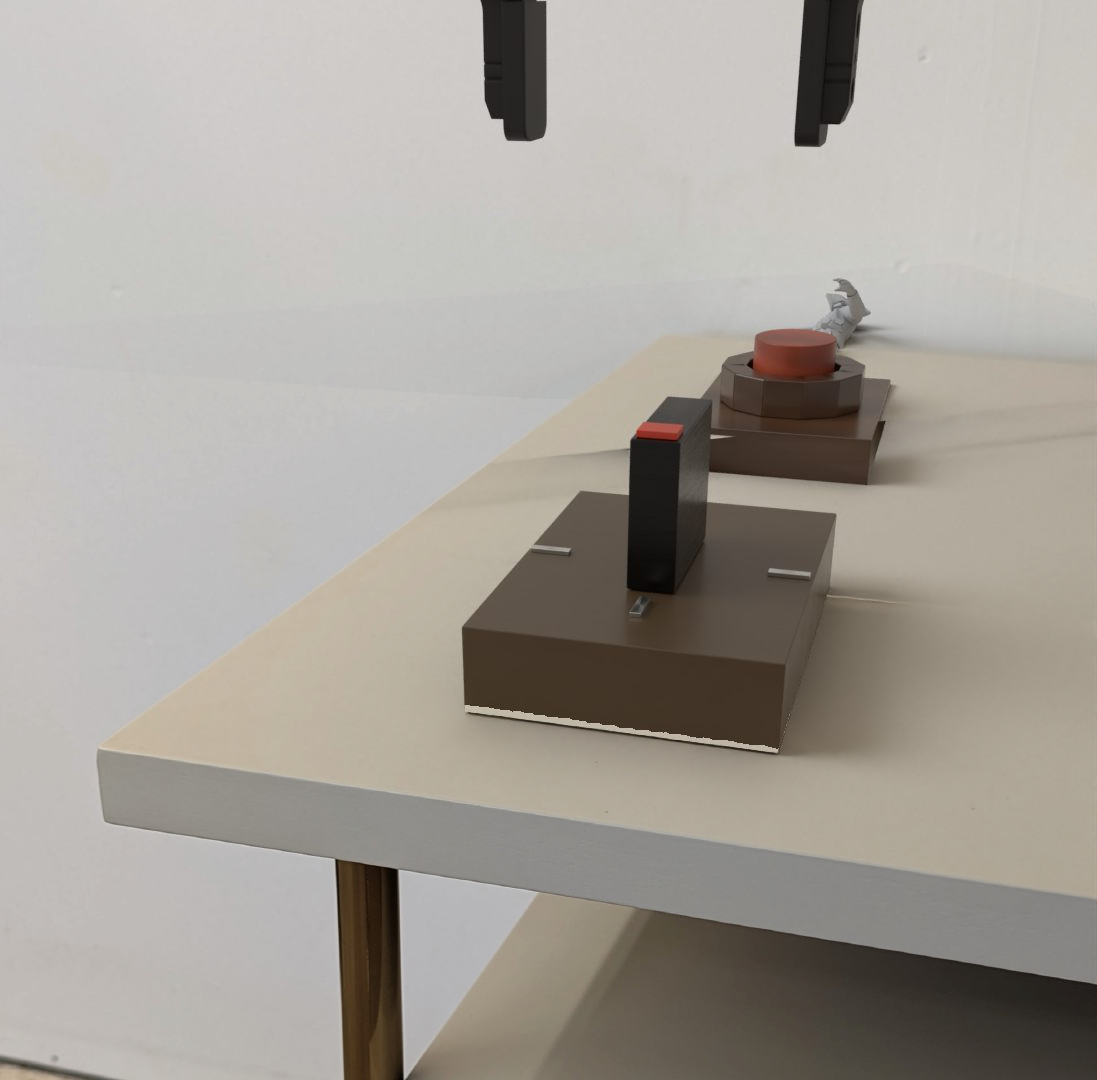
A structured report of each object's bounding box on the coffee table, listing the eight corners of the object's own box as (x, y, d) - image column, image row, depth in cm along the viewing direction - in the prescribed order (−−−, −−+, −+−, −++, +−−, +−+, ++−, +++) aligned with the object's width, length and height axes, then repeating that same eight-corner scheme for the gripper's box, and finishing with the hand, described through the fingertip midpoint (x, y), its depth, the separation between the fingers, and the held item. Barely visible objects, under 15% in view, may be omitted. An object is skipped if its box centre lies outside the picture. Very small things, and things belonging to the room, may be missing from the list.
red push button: (759, 361, 72) (761, 326, 71) (837, 366, 71) (841, 331, 70) (746, 379, 68) (749, 343, 68) (829, 385, 67) (832, 348, 67)
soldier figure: (716, 409, 81) (761, 306, 89) (776, 463, 82) (814, 357, 90) (812, 327, 76) (850, 225, 83) (874, 387, 77) (906, 281, 85)
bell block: (720, 408, 77) (724, 334, 76) (886, 420, 75) (894, 344, 73) (676, 470, 67) (680, 387, 65) (866, 486, 65) (876, 400, 63)
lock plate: (579, 561, 56) (580, 486, 55) (829, 587, 54) (837, 508, 52) (463, 713, 45) (460, 621, 43) (778, 754, 42) (786, 659, 41)
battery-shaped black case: (661, 534, 50) (666, 388, 48) (705, 538, 50) (713, 392, 48) (625, 589, 46) (630, 431, 43) (673, 594, 45) (680, 435, 43)
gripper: (997, -566, 35) (919, 137, 42) (460, -511, 39) (476, 127, 46) (993, -691, 29) (902, 162, 36) (350, -612, 32) (389, 148, 40)
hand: (663, 142), depth 41 cm, fingers open, 8 cm apart
